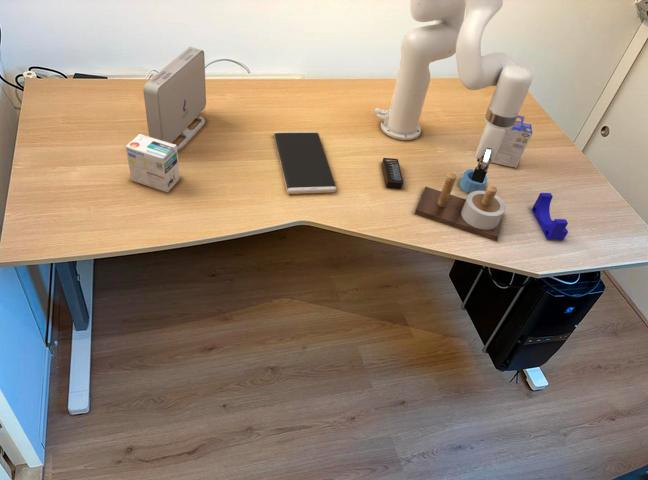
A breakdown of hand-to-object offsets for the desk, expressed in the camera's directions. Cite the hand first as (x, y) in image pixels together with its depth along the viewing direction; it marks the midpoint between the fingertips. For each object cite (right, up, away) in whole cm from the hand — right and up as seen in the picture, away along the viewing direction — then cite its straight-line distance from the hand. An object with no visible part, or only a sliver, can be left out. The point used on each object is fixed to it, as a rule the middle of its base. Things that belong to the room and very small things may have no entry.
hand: (479, 171), depth 151 cm
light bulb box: (-87, -4, -9) cm, 87 cm away
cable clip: (+17, -15, -3) cm, 23 cm away
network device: (-84, +12, +6) cm, 86 cm away
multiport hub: (-24, -1, +4) cm, 24 cm away
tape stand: (-7, -12, -5) cm, 15 cm away
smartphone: (-49, +3, +3) cm, 49 cm away
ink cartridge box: (+11, +6, +16) cm, 20 cm away
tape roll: (-1, -3, +4) cm, 6 cm away
